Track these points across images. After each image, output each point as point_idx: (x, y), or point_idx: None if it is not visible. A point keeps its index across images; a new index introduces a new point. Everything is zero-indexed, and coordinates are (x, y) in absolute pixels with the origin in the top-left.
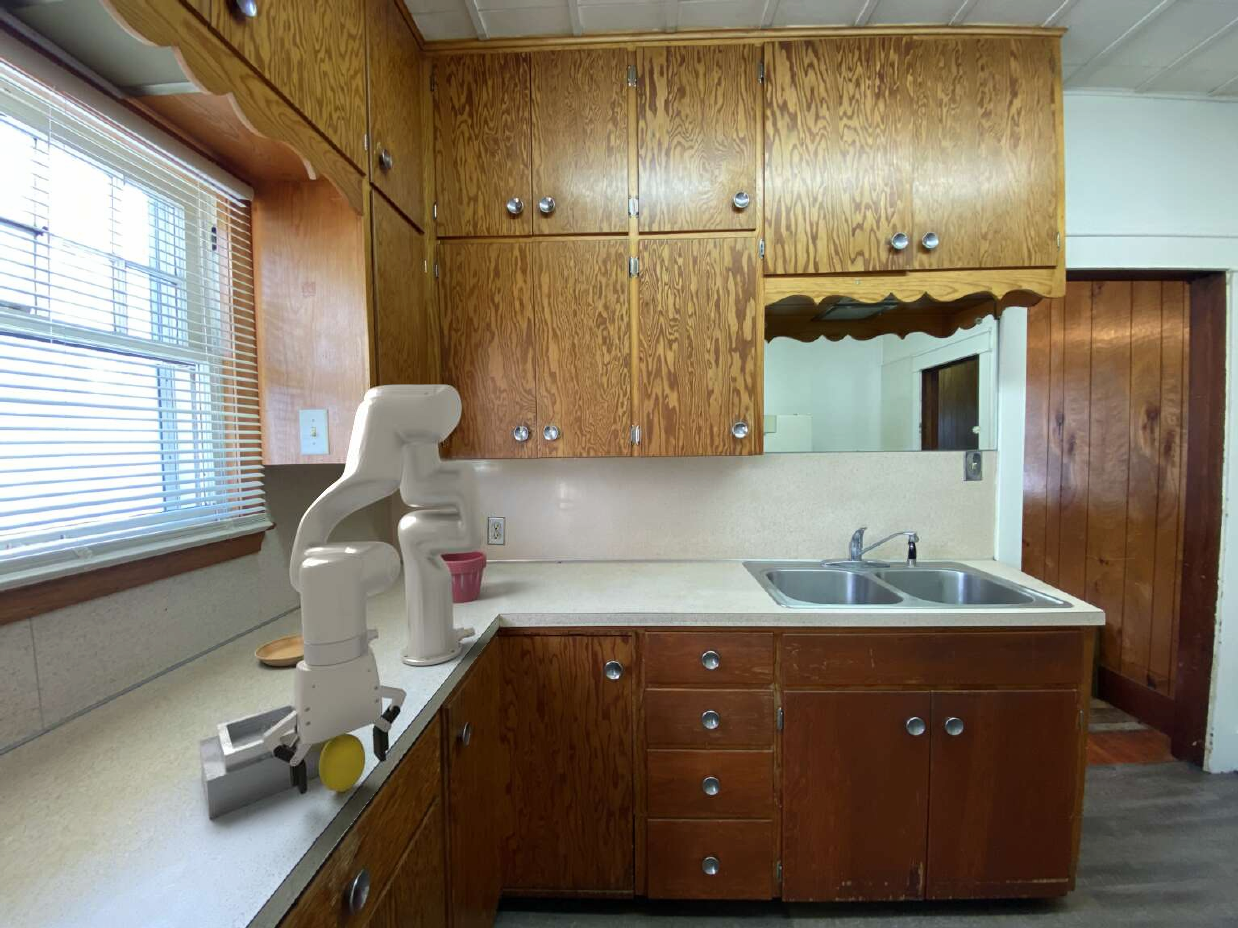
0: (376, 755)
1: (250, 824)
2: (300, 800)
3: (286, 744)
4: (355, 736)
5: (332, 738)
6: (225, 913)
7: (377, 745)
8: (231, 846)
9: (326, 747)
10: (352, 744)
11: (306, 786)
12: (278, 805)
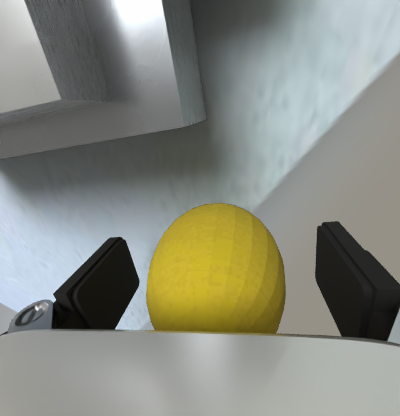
0: (317, 252)
1: (67, 219)
2: (140, 202)
3: (3, 122)
4: (267, 326)
5: (174, 315)
6: None
7: (332, 295)
8: (57, 254)
9: (155, 327)
10: None
11: (133, 292)
12: (101, 192)
